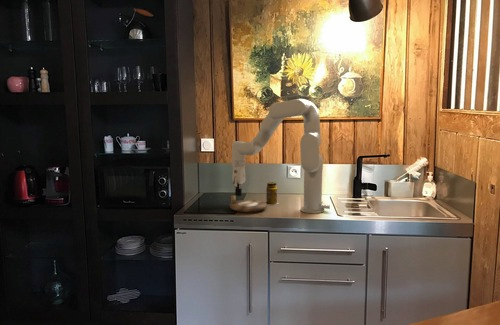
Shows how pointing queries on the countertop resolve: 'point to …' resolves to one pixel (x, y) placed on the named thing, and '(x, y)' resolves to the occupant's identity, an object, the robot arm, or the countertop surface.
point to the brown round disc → (247, 204)
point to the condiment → (271, 194)
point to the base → (247, 211)
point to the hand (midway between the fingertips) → (238, 195)
